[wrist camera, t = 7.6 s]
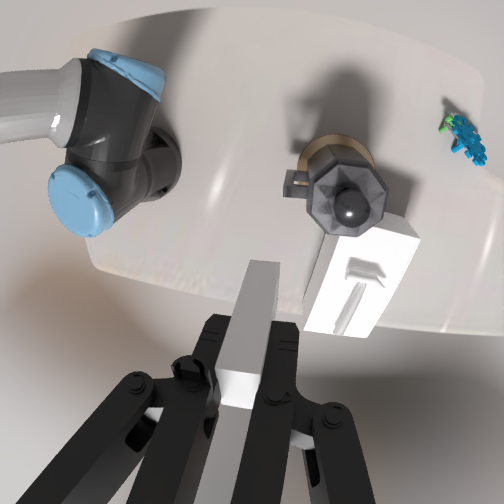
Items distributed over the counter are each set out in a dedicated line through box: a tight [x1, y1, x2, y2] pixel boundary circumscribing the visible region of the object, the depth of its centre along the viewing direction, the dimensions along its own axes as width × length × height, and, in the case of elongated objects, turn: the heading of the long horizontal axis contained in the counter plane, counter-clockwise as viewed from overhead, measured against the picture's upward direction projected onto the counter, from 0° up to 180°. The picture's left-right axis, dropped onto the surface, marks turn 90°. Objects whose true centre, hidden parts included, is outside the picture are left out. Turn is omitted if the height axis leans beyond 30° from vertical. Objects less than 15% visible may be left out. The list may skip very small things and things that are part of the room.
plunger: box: [333, 188, 370, 228], centre depth 36 cm, size 8×8×14 cm
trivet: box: [297, 134, 375, 185], centre depth 45 cm, size 14×14×1 cm
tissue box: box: [302, 211, 421, 338], centre depth 49 cm, size 14×25×11 cm, turn 171°
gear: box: [439, 114, 487, 166], centre depth 35 cm, size 11×6×10 cm
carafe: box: [283, 144, 388, 237], centre depth 39 cm, size 14×11×14 cm
